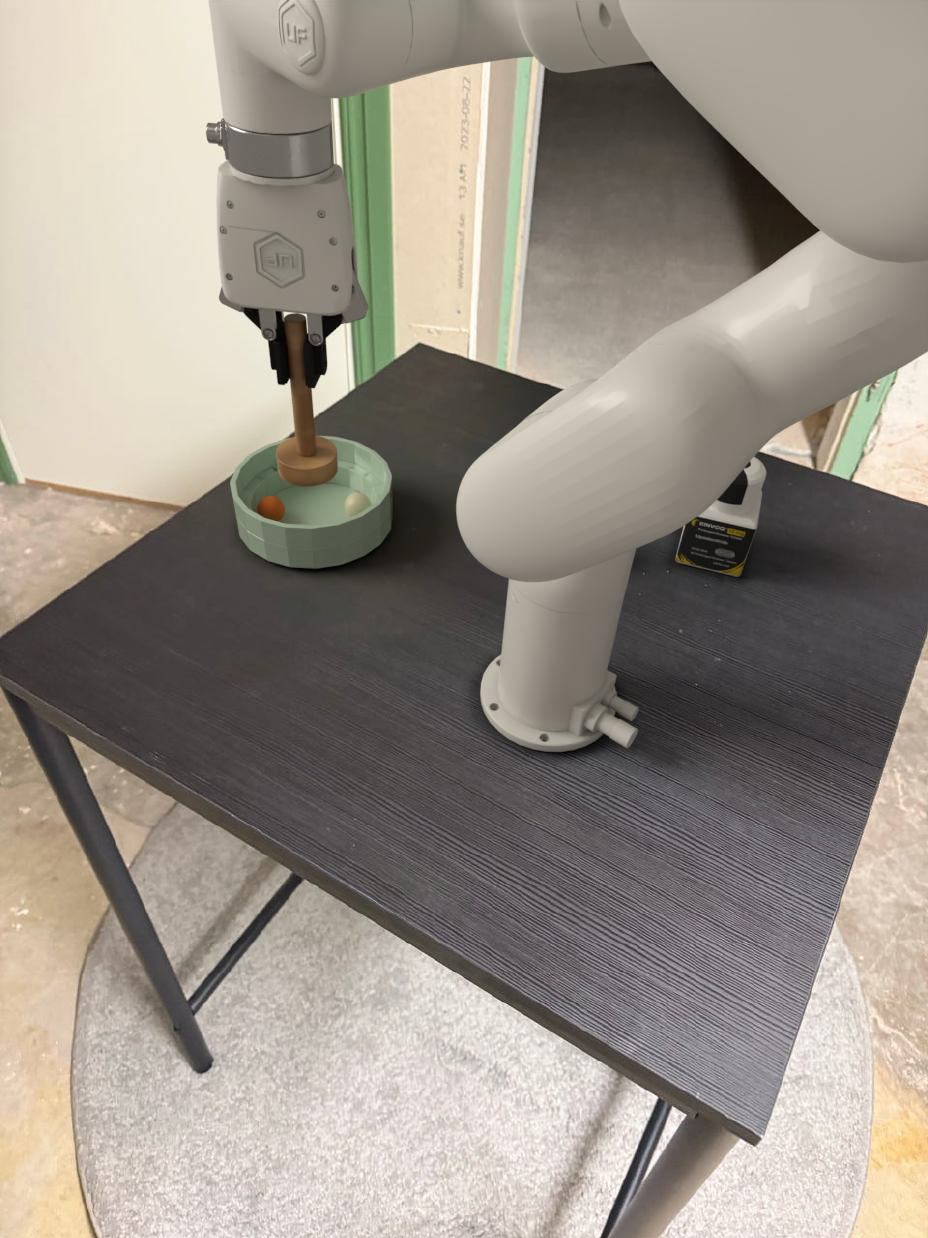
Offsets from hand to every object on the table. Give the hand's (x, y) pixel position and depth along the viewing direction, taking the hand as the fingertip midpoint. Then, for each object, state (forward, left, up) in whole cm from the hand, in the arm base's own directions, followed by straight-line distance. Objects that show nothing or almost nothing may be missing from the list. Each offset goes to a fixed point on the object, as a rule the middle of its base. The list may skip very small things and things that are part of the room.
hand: (300, 377), depth 75 cm
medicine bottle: (-30, -32, -24) cm, 49 cm away
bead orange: (+11, -3, -21) cm, 24 cm away
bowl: (+7, -7, -23) cm, 25 cm away
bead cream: (+4, -10, -21) cm, 24 cm away
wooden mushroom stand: (0, 0, -10) cm, 10 cm away
